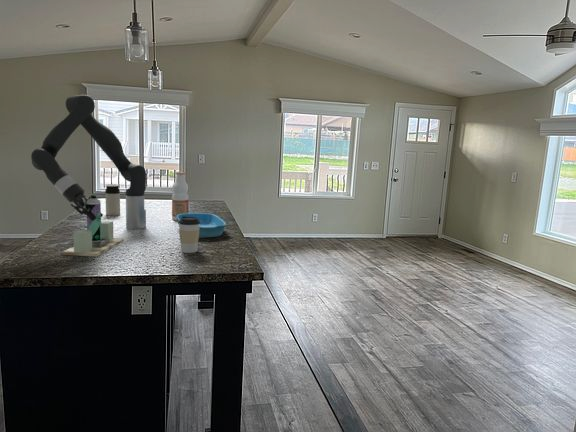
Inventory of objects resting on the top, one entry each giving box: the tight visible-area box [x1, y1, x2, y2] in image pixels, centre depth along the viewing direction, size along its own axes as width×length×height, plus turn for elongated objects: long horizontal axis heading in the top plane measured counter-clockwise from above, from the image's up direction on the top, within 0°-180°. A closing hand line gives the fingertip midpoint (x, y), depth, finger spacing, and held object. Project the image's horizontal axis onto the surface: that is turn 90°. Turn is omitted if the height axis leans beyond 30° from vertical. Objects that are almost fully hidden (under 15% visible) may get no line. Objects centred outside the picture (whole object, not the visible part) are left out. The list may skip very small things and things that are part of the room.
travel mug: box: [105, 183, 121, 217], centre depth 255 cm, size 8×8×18 cm
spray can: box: [86, 194, 102, 242], centre depth 182 cm, size 6×6×20 cm
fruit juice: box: [171, 171, 189, 222], centre depth 250 cm, size 9×9×28 cm
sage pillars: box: [72, 220, 114, 253], centre depth 183 cm, size 25×5×8 cm, turn 178°
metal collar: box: [92, 238, 109, 248], centre depth 184 cm, size 9×9×2 cm
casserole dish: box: [177, 212, 227, 239], centre depth 224 cm, size 37×22×7 cm, turn 23°
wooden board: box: [62, 237, 125, 258], centre depth 184 cm, size 26×14×1 cm, turn 178°
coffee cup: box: [178, 216, 200, 254], centre depth 185 cm, size 9×9×15 cm
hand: (98, 218), depth 182 cm, fingers closed on spray can, 5 cm apart
